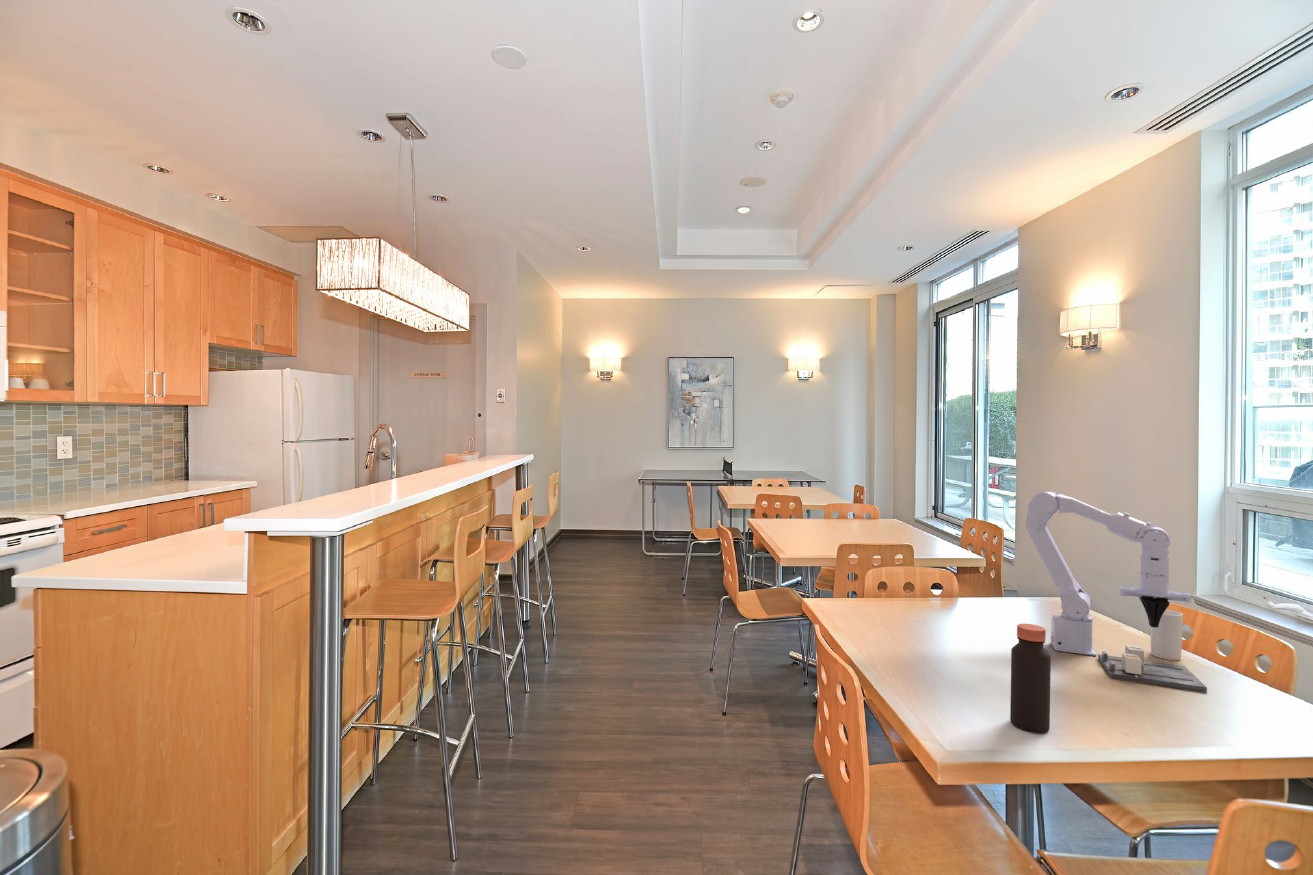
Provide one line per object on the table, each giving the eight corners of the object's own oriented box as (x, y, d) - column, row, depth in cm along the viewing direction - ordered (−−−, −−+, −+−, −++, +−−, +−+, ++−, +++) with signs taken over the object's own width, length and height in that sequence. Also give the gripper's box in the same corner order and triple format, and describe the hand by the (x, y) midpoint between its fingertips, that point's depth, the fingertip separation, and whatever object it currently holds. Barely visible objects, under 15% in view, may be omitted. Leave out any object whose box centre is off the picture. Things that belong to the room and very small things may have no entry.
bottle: (1035, 718, 127) (1036, 621, 127) (1057, 734, 120) (1059, 632, 120) (1003, 718, 127) (1004, 621, 127) (1023, 734, 120) (1025, 632, 120)
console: (1111, 678, 149) (1111, 666, 149) (1097, 658, 163) (1098, 647, 163) (1207, 692, 142) (1207, 680, 142) (1184, 670, 155) (1184, 659, 155)
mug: (1185, 662, 161) (1186, 616, 161) (1153, 658, 164) (1154, 613, 164) (1173, 650, 170) (1174, 607, 170) (1143, 646, 173) (1144, 604, 173)
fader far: (1129, 663, 156) (1129, 649, 156) (1125, 658, 159) (1125, 644, 159) (1143, 665, 154) (1144, 650, 154) (1139, 660, 158) (1139, 646, 158)
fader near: (1126, 672, 149) (1126, 657, 149) (1121, 666, 153) (1122, 652, 153) (1141, 674, 148) (1141, 659, 148) (1136, 668, 152) (1137, 654, 152)
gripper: (1123, 573, 159) (1123, 626, 159) (1195, 580, 152) (1194, 634, 152) (1117, 568, 165) (1116, 619, 165) (1186, 574, 159) (1185, 627, 159)
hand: (1153, 626), depth 159 cm, fingers closed
